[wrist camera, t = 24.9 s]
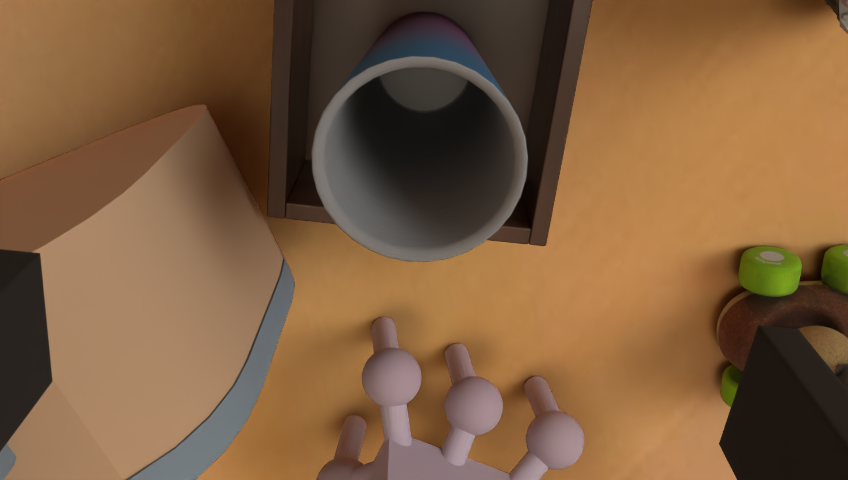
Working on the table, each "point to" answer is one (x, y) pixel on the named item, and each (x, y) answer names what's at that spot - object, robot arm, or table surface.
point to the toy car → (786, 309)
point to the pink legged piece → (466, 412)
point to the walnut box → (497, 45)
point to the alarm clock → (145, 302)
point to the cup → (420, 145)
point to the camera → (840, 12)
